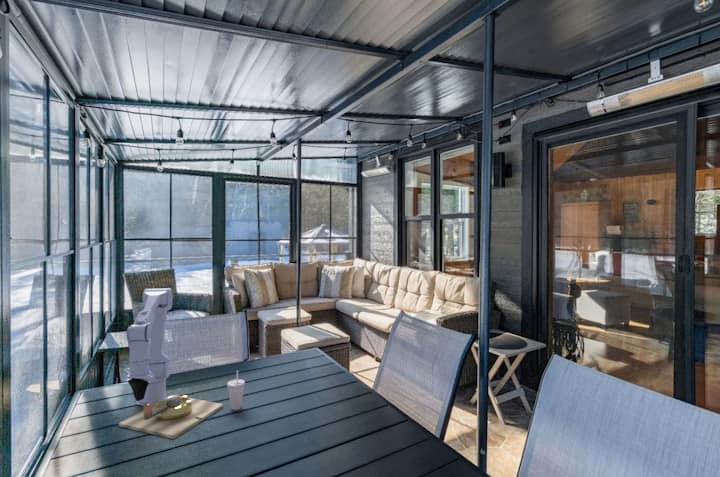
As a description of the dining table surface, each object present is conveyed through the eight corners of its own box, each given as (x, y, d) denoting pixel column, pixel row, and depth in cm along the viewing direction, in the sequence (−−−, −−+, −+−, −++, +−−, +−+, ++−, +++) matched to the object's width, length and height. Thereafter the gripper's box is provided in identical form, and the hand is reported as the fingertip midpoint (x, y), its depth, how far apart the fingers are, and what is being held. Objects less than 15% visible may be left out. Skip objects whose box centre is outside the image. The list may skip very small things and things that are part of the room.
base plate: (118, 426, 132) (118, 408, 132) (173, 397, 155) (173, 382, 155) (175, 439, 124) (174, 420, 124) (224, 406, 147) (224, 391, 147)
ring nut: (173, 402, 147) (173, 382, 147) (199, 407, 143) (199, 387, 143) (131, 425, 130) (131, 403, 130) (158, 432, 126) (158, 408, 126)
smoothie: (239, 412, 142) (239, 374, 142) (223, 410, 144) (223, 373, 143) (248, 404, 149) (247, 368, 148) (232, 403, 150) (232, 367, 150)
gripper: (115, 359, 131) (115, 399, 131) (140, 367, 124) (140, 409, 124) (135, 353, 137) (136, 391, 138) (161, 360, 130) (161, 400, 130)
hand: (139, 399), depth 131 cm, fingers closed
